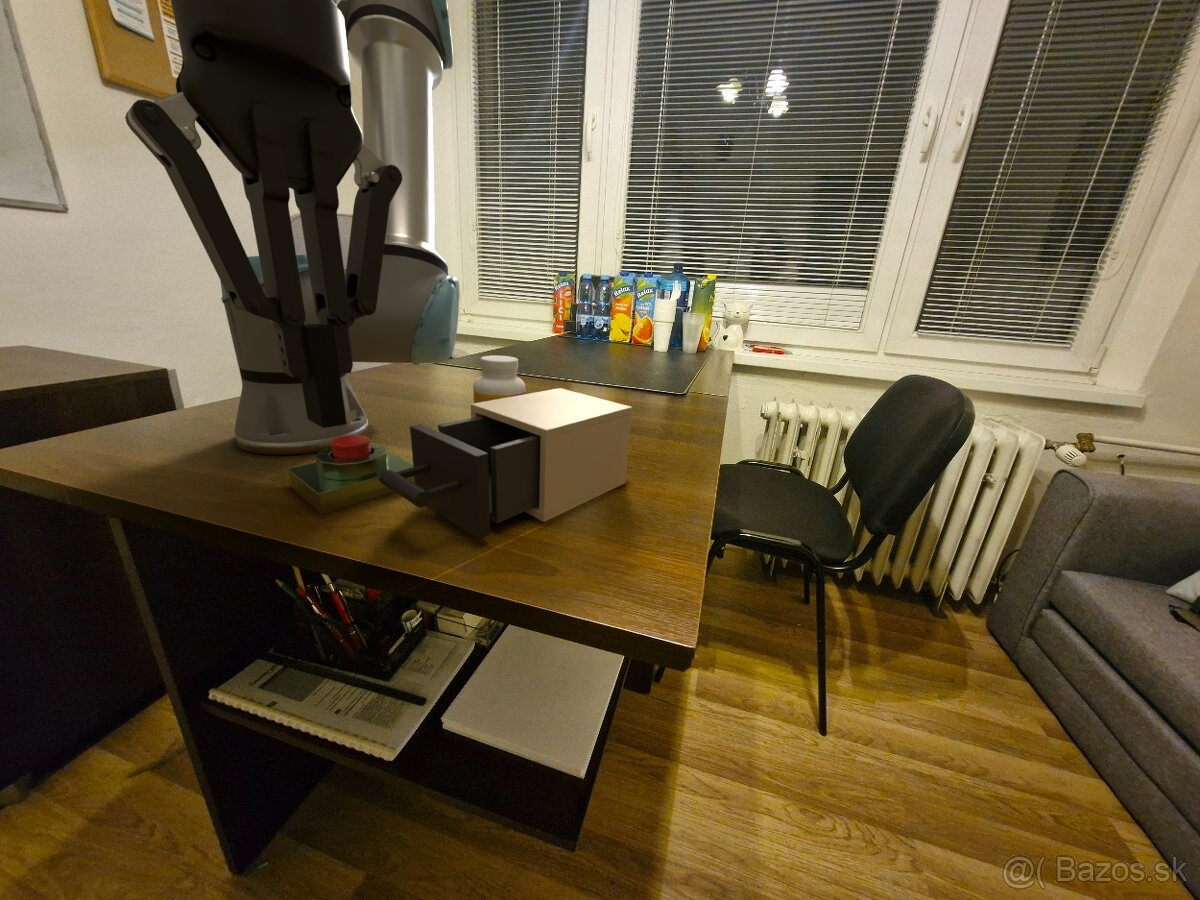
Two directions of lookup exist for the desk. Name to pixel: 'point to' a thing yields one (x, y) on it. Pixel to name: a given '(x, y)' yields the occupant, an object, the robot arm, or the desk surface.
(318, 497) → the block
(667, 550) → the desk surface
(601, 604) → the desk surface
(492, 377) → the supplement bottle
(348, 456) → the button
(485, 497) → the drawer
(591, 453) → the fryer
